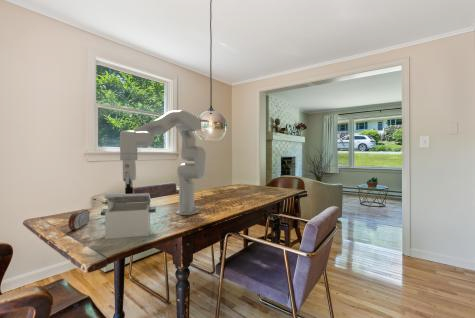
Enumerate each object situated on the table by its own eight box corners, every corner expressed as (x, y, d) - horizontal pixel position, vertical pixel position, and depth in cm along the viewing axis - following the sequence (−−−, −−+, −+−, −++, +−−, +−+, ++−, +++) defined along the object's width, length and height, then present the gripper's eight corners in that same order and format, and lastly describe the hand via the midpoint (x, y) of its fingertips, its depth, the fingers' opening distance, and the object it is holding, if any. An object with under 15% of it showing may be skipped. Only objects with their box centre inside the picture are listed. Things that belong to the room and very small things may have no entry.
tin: (84, 223, 132) (84, 207, 132) (90, 222, 132) (90, 207, 132) (67, 232, 117) (67, 214, 117) (74, 232, 117) (74, 214, 117)
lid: (150, 201, 131) (150, 196, 132) (149, 195, 114) (149, 189, 115) (112, 203, 125) (112, 198, 126) (104, 197, 108) (104, 191, 109)
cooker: (155, 223, 132) (155, 201, 131) (155, 234, 115) (155, 209, 114) (106, 227, 125) (106, 204, 124) (97, 239, 108) (97, 212, 107)
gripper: (135, 157, 110) (136, 198, 110) (138, 156, 124) (139, 192, 125) (117, 157, 108) (117, 198, 108) (122, 156, 122) (122, 193, 123)
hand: (129, 195), depth 116 cm, fingers closed
